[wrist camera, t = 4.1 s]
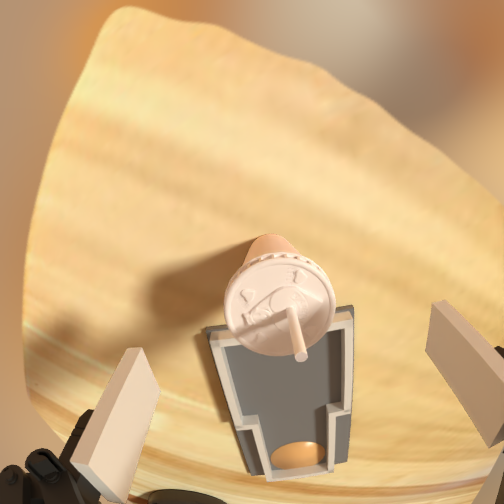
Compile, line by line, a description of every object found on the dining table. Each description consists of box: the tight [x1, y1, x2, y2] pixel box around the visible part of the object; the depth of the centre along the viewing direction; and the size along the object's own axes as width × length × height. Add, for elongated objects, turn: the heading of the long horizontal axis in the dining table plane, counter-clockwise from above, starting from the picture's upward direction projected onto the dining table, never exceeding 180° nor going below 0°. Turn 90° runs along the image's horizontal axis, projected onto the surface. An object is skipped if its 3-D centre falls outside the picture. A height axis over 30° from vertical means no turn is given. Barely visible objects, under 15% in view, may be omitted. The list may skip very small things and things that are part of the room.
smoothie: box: [224, 234, 336, 362], centre depth 20 cm, size 6×6×14 cm
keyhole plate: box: [206, 305, 354, 482], centre depth 31 cm, size 14×26×2 cm, turn 9°
